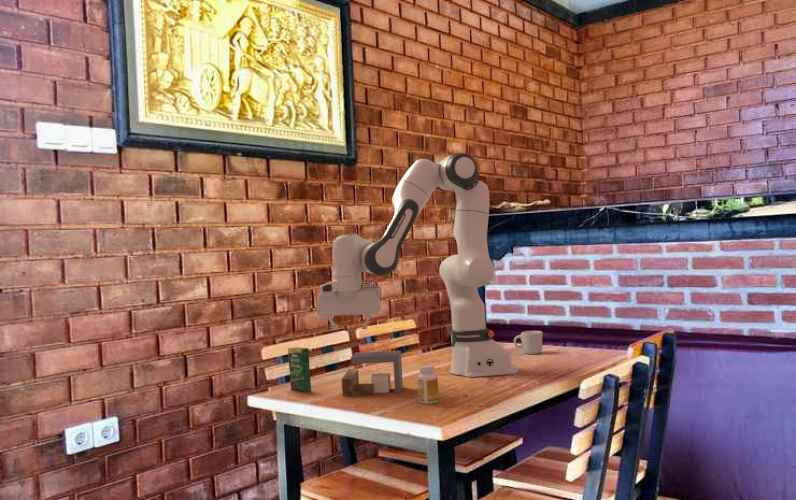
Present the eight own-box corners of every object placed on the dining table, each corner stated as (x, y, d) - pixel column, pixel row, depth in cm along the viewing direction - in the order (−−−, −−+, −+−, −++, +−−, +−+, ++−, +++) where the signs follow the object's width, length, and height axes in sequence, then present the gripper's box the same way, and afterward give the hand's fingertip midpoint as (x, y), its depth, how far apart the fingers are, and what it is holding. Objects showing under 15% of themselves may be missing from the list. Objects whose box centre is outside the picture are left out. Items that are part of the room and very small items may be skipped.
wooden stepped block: (377, 383, 204) (377, 367, 204) (373, 394, 188) (372, 377, 188) (349, 384, 204) (348, 368, 204) (342, 396, 189) (341, 379, 189)
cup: (514, 355, 241) (513, 334, 241) (514, 352, 249) (513, 331, 249) (544, 354, 239) (543, 333, 239) (543, 351, 247) (541, 330, 247)
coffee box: (289, 389, 203) (287, 347, 203) (297, 387, 205) (295, 346, 205) (303, 392, 197) (301, 349, 197) (311, 390, 198) (309, 348, 198)
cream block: (390, 388, 195) (389, 372, 195) (388, 392, 190) (388, 375, 190) (374, 389, 196) (373, 372, 196) (372, 393, 191) (371, 376, 191)
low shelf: (402, 387, 196) (400, 350, 196) (400, 392, 188) (398, 355, 188) (357, 388, 198) (355, 352, 198) (352, 394, 190) (350, 357, 190)
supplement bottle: (441, 399, 177) (439, 364, 177) (435, 404, 172) (433, 368, 172) (422, 399, 179) (420, 364, 179) (416, 404, 174) (414, 367, 174)
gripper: (381, 283, 205) (384, 327, 205) (318, 286, 207) (320, 329, 207) (379, 284, 198) (381, 329, 198) (313, 287, 201) (316, 331, 200)
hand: (349, 329), depth 203 cm, fingers open, 8 cm apart
